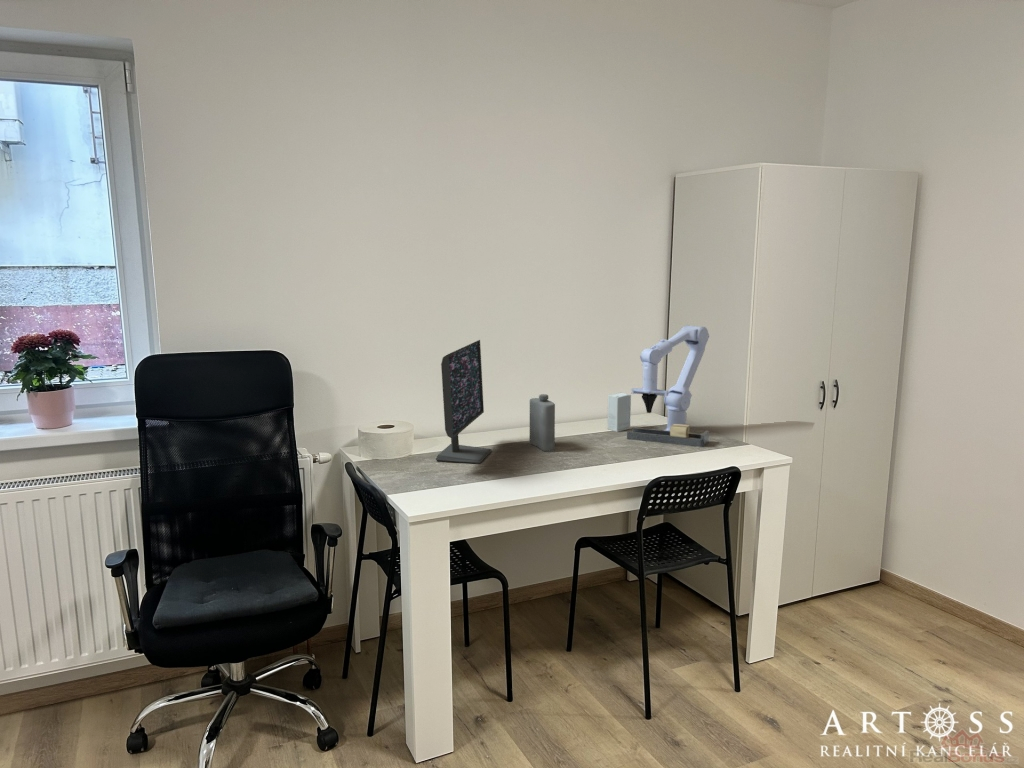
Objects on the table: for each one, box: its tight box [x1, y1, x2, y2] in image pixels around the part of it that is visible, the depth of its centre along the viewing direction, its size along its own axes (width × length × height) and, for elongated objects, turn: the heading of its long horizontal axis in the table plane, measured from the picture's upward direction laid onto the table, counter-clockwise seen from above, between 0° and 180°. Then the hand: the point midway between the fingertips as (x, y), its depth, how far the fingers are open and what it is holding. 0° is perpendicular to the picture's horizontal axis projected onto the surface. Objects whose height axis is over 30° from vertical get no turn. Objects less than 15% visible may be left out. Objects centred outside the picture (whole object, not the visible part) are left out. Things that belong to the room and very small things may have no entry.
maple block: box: [670, 424, 690, 438], centre depth 297 cm, size 6×6×5 cm
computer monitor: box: [435, 339, 492, 464], centre depth 273 cm, size 44×16×40 cm, turn 168°
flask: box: [529, 393, 556, 452], centre depth 288 cm, size 15×6×20 cm, turn 24°
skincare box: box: [606, 392, 632, 433], centre depth 317 cm, size 8×6×15 cm
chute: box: [626, 427, 710, 448], centre depth 299 cm, size 9×30×4 cm, turn 64°
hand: (649, 412), depth 306 cm, fingers closed
